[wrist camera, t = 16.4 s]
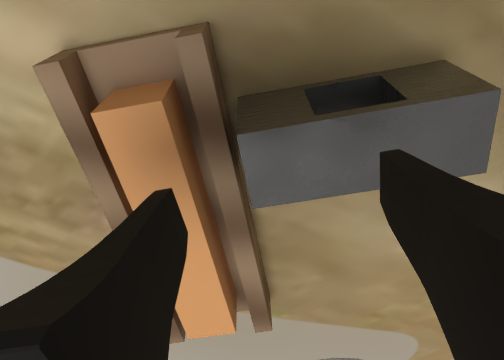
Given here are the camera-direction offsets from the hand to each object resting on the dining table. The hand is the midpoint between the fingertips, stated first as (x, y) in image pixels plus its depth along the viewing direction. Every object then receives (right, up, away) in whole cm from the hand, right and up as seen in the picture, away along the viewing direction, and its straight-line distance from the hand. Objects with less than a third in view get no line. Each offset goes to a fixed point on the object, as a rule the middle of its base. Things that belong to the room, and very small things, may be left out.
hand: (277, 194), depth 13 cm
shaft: (-5, -1, +10) cm, 11 cm away
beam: (+4, +4, +8) cm, 10 cm away
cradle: (-5, -1, +11) cm, 12 cm away
